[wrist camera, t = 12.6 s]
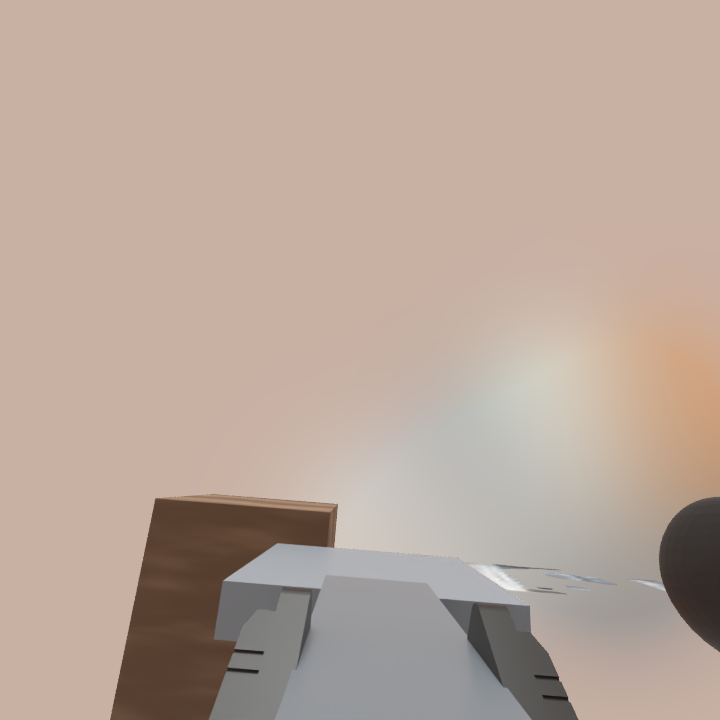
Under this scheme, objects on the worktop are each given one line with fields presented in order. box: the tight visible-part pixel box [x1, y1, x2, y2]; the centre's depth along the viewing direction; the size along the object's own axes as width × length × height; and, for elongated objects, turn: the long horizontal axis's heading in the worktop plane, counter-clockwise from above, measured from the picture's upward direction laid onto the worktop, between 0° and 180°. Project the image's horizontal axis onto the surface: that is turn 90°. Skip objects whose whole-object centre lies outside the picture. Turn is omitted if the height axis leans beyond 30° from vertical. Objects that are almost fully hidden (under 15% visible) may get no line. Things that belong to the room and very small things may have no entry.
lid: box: [214, 543, 532, 720], centre depth 17 cm, size 23×12×2 cm, turn 0°
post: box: [110, 494, 338, 720], centre depth 36 cm, size 14×14×30 cm
